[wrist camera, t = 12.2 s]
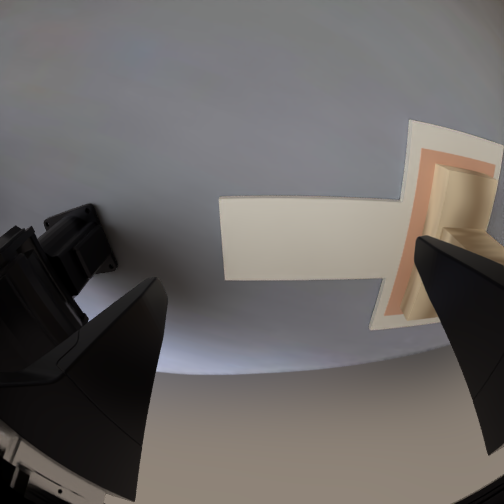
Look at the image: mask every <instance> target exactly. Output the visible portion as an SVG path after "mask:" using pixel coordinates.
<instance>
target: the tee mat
mask: <svg viewBox="0 0 504 504" xmlns="http://www.w3.org/2000/svg"><path fill="white" fill-rule="evenodd" d="M503 148H504V146H503V145H500V144H497V143H494V142H492V141H489V140H486V139H483V138H480V137H476V136H473V135H470V134H467V133H463V132H460V131H456V130H452V129H449V128H445V127H441V126H437V125H432V124H428V123H424V122H419V121H414V120H409V126H408V139H407V150H406V159H405V168H404V175H403V183H402V189H401V196H400V200H392V199H376V198H356V197H328V196H220V197H219V209H220V223H221V236H222V249H223V261H224V273H225V280H331V279H368V278H383V280H382V283H381V287H380V291H379V294H378V298H377V301H376V304H375V308H374V311H373V314H372V317H371V320H370V323H369V329H370V330H380V329H390V328H399V327H408V326H416V325H424V324H431V323H438V322H440V319H439V317H435V318H427V319H419V320H410V321H407V320H406V318H405V316H404V314H403V312H402V310H401V309H400V305H401V302H402V299H403V297H404V294H405V291H406V288H407V285H408V281H409V278H410V275H411V272H412V269H413V265H414V252H415V242H416V238H417V237H419V236H422V232H423V228H424V223H425V219H426V214H427V210H428V205H429V200H430V195H431V189H432V183H433V177H434V171H435V164H442V165H447V166H453V167H458V168H463V169H467V170H472V171H477V172H481V173H485V174H487V175H489V176H490V177H492V178H494V179H496V180H499V175H500V169H501V163H502V156H503ZM497 185H498V183H497ZM496 190H497V188H496ZM495 195H496V193H495ZM494 200H495V197H494ZM493 204H494V202H493ZM492 208H493V206H492ZM491 212H492V210H491ZM490 216H491V214H490ZM489 220H490V218H489ZM488 223H489V221H488ZM487 227H488V225H487ZM486 230H487V228H486Z"/></svg>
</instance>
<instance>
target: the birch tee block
mask: <svg viewBox="0 0 504 504" xmlns="http://www.w3.org/2000/svg"><path fill="white" fill-rule="evenodd" d="M497 183H498V180H496V179H494V178H492V177H490V176H489V175H487V174H485V173H481V172H477V171H472V170H467V169H463V168H458V167H453V166H447V165H442V164H435V171H434V177H433V183H432V189H431V195H430V200H429V205H428V210H427V214H426V219H425V223H424V228H423V232H422V236H424V235H428V236H431V237H434V238H437V239H439V240H442V241H445V242H447V243H450V244H453V245H455V246H458V247H461V248H463V249H466V250H468V251H471V252H473V253H476V254H478V255H481V256H483V257H486V258H488V259H491V260H493V261H495V262H498V263H500V264H502V265H504V247H503V246H502V245H500V244H499V243H498V242H497V241H496V240H495V239H494V238H492V237H491V236H490V235H489V234H488V233H486V228H487V225H488V221H489V218H490V214H491V210H492V206H493V202H494V197H495V193H496V188H497ZM400 309H401V310H402V312H403V314H404V316H405V318H406V320H407V321H410V320H419V319H427V318H435V317H438V315H437V313H436V311H435V309H434V307H433V305H432V303H431V301H430V299H429V297H428V295H427V292H426V290H425V287H424V285H423V282H422V280H421V278H420V275H419V273H418V271H417V268H416V266H415V263H414V265H413V269H412V272H411V275H410V278H409V281H408V285H407V288H406V291H405V294H404V297H403V299H402V302H401V305H400Z"/></svg>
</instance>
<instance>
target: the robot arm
mask: <svg viewBox="0 0 504 504" xmlns="http://www.w3.org/2000/svg"><path fill="white" fill-rule="evenodd" d="M87 208H88V209H89V210H90V212H89V211H88V209H87ZM48 223H49V224H48ZM44 226H45V229H46V232H45V233H44V234H43V235H41V236H40V237H39V238H38V239H37V237H36V235H35V231H34V229H33V227H32V226H31V227H29V228H28V229H26V230H25V228H24V229H21V228H19V227H17V226H14V227H13V228H11V229H10V230H9V231H8V232H6V233H5V234H4V235H2V236H1V237H0V504H104V499H105V495H106V494H109V495H112V496H115V497H119V498H122V499H125V500H129V501H132V502H135V498H136V488H137V481H138V473H139V464H140V458H141V451H142V444H143V438H144V431H145V425H146V419H147V414H148V408H149V403H150V397H151V393H152V388H153V383H154V378H155V373H156V368H157V364H158V359H159V355H160V350H161V346H162V341H163V336H164V329H165V320H166V312H167V305H168V297H167V294H166V292H165V290H164V288H163V285H162V283H161V281H160V279H159V278H157V277H153V278H148V279H146V280H144V281H143V282H142V283H140V284H139V285H138V286H136V287H135V288H133V289H132V290H131V291H129V292H128V293H127V294H125V295H124V296H123V297H121V298H120V299H118V300H117V301H116V302H114V303H113V304H112V305H110V306H109V307H108V308H106V309H105V310H104V311H102V312H101V313H100V314H99V315H97V316H96V317H95V318H93V319H92V320H91V321H89V322H88V320H89V318H88V317H87V315H86V314H85V313H83V312H82V310H81V309H80V307H79V306H78V305H77V303H76V302H75V300H74V298H75V297H76V296H77V295H78V294H79V293H80V292H81V290H82V289H83V288H84V286H85V285H86V284H87V282H88V281H89V280H90V279H91V278H92V277H93V275H94V274H99V273H105V272H112V271H115V270H116V268H117V267H118V264H117V262H116V260H115V257H114V255H113V253H112V250H111V248H110V246H109V243H108V241H107V239H106V236H105V234H104V231H103V229H102V227H101V224H100V222H99V219H98V217H97V214H96V211H95V209H94V207H93V205H92V204H85V205H82V206H80V207H77V208H74V209H71V210H68V211H65V212H63V213H60V214H57V215H54V216H52V217H49V218H47V219H46V220H45V221H44ZM414 263H415V266H416V268H417V271H418V273H419V275H420V278H421V280H422V282H423V285H424V287H425V290H426V292H427V295H428V297H429V299H430V301H431V303H432V305H433V307H434V309H435V311H436V313H437V315H438V317H439V319H440V322H441V324H442V326H443V328H444V330H445V332H446V334H447V337H448V339H449V341H450V343H451V346H452V348H453V350H454V353H455V355H456V357H457V360H458V362H459V365H460V367H461V370H462V372H463V375H464V378H465V380H466V383H467V385H468V388H469V391H470V394H471V397H472V399H473V404H474V407H475V409H476V413H477V416H478V419H479V423H480V426H481V430H482V434H483V437H484V441H485V446H486V450H487V453H488V455H491V454H493V453H494V452H496V451H498V450H499V449H501V448H502V447H504V265H502V264H500V263H498V262H495V261H493V260H491V259H488V258H486V257H483V256H481V255H478V254H476V253H473V252H471V251H468V250H466V249H463V248H461V247H458V246H455V245H453V244H450V243H447V242H445V241H442V240H439V239H437V238H434V237H431V236H428V235H424V236H419V237H417V238H416V242H415V252H414ZM111 264H112V265H113V266H111ZM452 504H504V474H503V475H502V476H500V477H499V478H497V479H495V480H494V481H492V482H491V483H489V484H487V485H485V486H484V487H482V488H480V489H479V490H477V491H475V492H473V493H471V494H470V495H468V496H466V497H464V498H462V499H460V500H458V501H456V502H454V503H452Z"/></svg>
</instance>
